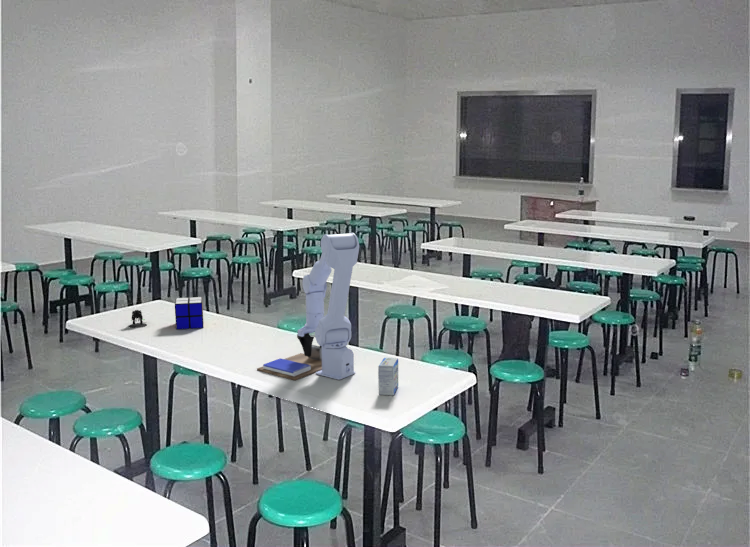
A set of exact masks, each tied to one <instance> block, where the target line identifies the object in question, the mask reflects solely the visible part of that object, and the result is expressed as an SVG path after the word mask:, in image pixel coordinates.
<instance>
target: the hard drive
mask: <svg viewBox="0 0 750 547" xmlns="http://www.w3.org/2000/svg"><path fill="white" fill-rule="evenodd" d="M262 367H263V369H267V370H271V371H275V372H279V373H282V374H286V375H290V376H296V375H299V374H301V373H304V372H306V371H309V370H311V365H307V364H302V363H298V362H294V361H290V360H285V358H277V359H275V360H273V361H270V362H266V363H264V364H263V365H262Z"/></svg>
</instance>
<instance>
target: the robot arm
mask: <svg viewBox="0 0 750 547" xmlns="http://www.w3.org/2000/svg"><path fill="white" fill-rule="evenodd" d="M320 249H321V256H320V257H319V258H320V259H319V260H317V261H315V262H314V264H313V266H312V268H311V270H310V272H309V274H305V275H304V276H303V278H302V289H303V293H305V313H306V314H305V316H306V318H305V321H306V323H304V326H302V327H301V328H299V329H297V334H296V338H297V339H298V341H299V343H300V345H301V348H302V351H303V354H304V355H305V356H308V357H310V356H311V351H312V345H313V342H314V339H315V340H316V342H317V344H318V346H320V347H322V370H321V371H318V372H316V373H315V375H319V376H322V377H326V378H331V379H334V380H338V381H340V380H343V379H346V378H347V377H351V376H352V375H354V374H356V371H355V370H354V369H355V367H354V364H355V363H354V362H355V361H354V357H355V356H354V352H353V350H352V349H351V348H348V343H349V342H350V341H351V338H352V323H351V321H350V319H349V318H348V317H347V316H346V315H345V314H346V308H347V302H348V297H349V292H350V286H351V279H352V273H353V269H354V268H353V267H354V266H355V265H356V264H357V262H358V257H359V251H360V243H359V238H358V236H357V235H356V234H355V233H354V232H349V233H338V234H337V233H334V234H333V233H332V234H323V235H322V237H321V239H320ZM332 270H334V271H333V278H332V283H331V289H330V296H329V301H328V307H327V308H328V309H327V313H326V314H325V298H326V293H327V292H326V291H327V288H328V284H327V281H328V279H329V277H330V276H331V273H332ZM312 333H314V336H311V334H312Z"/></svg>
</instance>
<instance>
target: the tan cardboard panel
mask: <svg viewBox="0 0 750 547" xmlns="http://www.w3.org/2000/svg"><path fill="white" fill-rule="evenodd" d="M284 359H285V360H290V361H294V362H298V363H302V364H307V365H311V370H309V371H306V372H304V373H301V374H299V375H296V376H290V375H286V374H282V373H279V372H275V371H271V370H267V369H263V366H260V367H258V368H256V370H257V371H260V372H263V373H266V374H269V375H274V376H278V377H280V378H285V379H288V380H293V381H299V380H300V379H303V378H305V377H308V376H310V375H312V374H316V372H318V371H321V370H322V347H320V345H316V344H312V351H311V356H310V357H308V356H305V355H304V352H303V353H302V352H300V353H297V354H294V355H292V356H289V357H285V358H284Z"/></svg>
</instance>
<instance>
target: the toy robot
mask: <svg viewBox="0 0 750 547" xmlns="http://www.w3.org/2000/svg"><path fill="white" fill-rule="evenodd" d="M142 313H143V312H142V310H139V309H135V310H132V312H131V320H130V322H132V324H131V323H130V324H129V325H128V326H127V327H128V328H129V327H130V329H140V328H145V327H147V326H148V324H147V321H146V322H145V319H144V317H143V315H142ZM136 322H137V323H136Z"/></svg>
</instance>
